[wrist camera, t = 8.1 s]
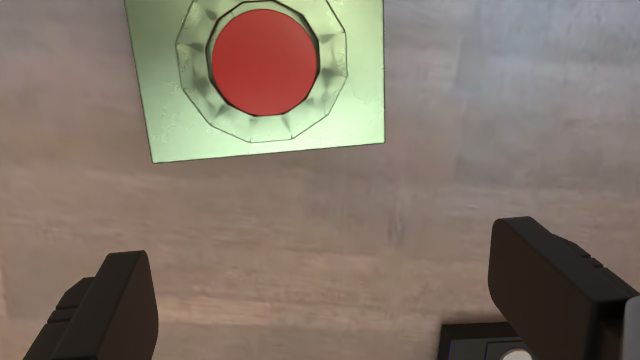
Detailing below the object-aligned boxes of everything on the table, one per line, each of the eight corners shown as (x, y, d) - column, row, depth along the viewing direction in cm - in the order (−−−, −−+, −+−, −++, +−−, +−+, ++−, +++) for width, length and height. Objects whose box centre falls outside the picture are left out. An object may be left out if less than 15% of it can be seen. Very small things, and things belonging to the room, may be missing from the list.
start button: (220, 110, 22) (218, 119, 20) (208, 11, 20) (204, 12, 19) (314, 103, 22) (319, 111, 20) (308, 5, 21) (313, 5, 19)
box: (159, 151, 25) (144, 176, 22) (126, -45, 22) (102, -55, 19) (375, 132, 27) (396, 154, 23) (371, -57, 24) (394, -68, 20)
